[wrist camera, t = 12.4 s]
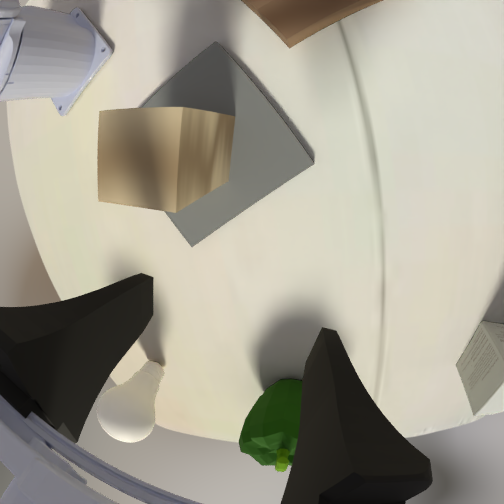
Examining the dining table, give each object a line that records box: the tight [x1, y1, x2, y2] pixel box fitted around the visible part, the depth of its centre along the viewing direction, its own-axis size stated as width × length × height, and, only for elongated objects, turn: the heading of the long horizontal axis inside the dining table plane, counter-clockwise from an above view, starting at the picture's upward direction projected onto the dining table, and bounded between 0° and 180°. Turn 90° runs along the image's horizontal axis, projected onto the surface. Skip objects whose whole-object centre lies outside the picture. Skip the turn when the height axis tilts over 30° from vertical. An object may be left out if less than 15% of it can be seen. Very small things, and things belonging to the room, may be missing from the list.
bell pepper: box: [239, 379, 303, 472], centre depth 23 cm, size 8×8×10 cm
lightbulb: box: [97, 361, 164, 442], centre depth 25 cm, size 6×6×11 cm
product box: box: [456, 321, 504, 416], centre depth 17 cm, size 6×6×7 cm
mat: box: [142, 42, 314, 247], centre depth 19 cm, size 11×11×1 cm
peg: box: [98, 107, 235, 213], centre depth 15 cm, size 4×4×8 cm
